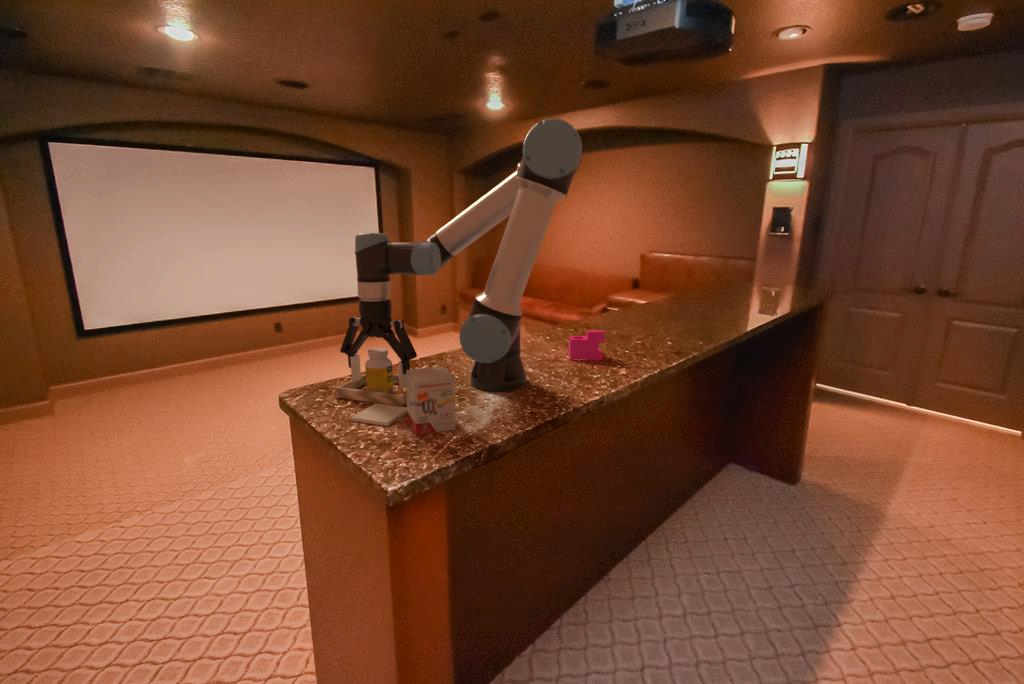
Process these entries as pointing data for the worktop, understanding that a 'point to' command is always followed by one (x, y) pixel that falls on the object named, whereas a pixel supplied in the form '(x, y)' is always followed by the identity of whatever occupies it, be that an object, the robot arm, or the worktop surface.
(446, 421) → the ink box
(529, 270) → the robot arm
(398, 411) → the coaster
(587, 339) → the magenta stepped block
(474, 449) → the worktop surface
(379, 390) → the pill bottle
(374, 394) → the corral
